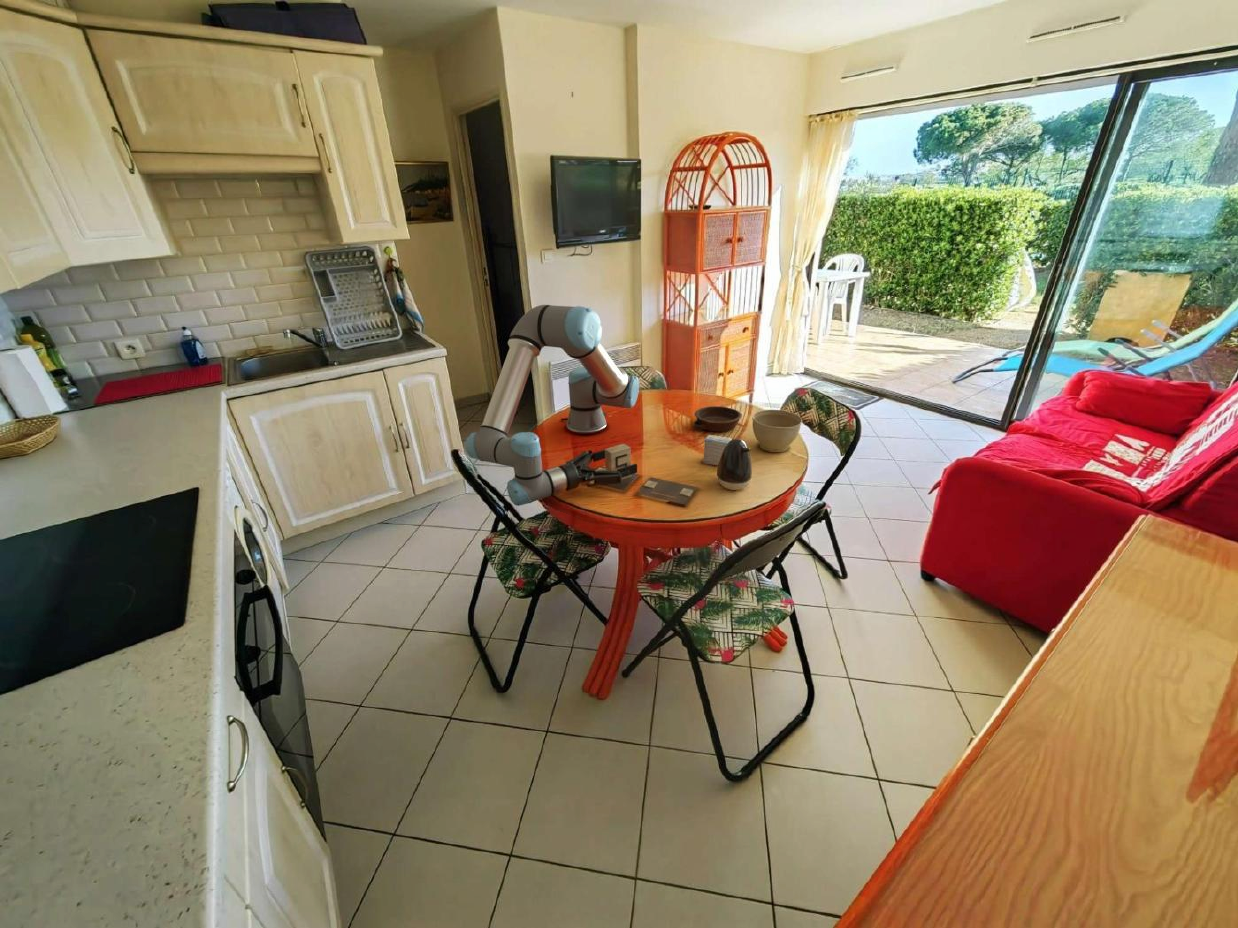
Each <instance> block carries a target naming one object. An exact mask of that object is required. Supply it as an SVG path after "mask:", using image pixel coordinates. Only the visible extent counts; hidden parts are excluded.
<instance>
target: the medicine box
mask: <svg viewBox="0 0 1238 928" xmlns="http://www.w3.org/2000/svg"><path fill="white" fill-rule="evenodd" d="M732 439H733V438H732V437H727V436H720V435H714V434H713V435H712V434H708V435H707V436H706V437H705V439H704V444H703V446H704V447H703V460H702V461H703V464H707V465H712V466H718V463H719V460H720V457H721V454H722V452H723V450H724V448H725V446H726V445H727V444H728V442H729V441H731V440H732Z"/></svg>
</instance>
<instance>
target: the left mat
mask: <svg viewBox="0 0 1238 928" xmlns="http://www.w3.org/2000/svg"><path fill="white" fill-rule="evenodd" d="M595 469H596V470H601V471H606V468H605V467H604V466H598V467H597V468H595ZM639 475H640V474H637V473H634V474H631V477H629V478H626V479H622V483H620V484H607V485H600V487H601V486H602V487H607V488H611V489H614V490H619V491H623V492H624V491H625V490H626V489H627V488H628V487H629V486H630V485H631V484H632V483H633V482H634V481H635V480H636V479H637V478H638V477H639Z"/></svg>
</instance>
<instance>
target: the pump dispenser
mask: <svg viewBox="0 0 1238 928" xmlns="http://www.w3.org/2000/svg"><path fill="white" fill-rule="evenodd" d="M731 439H732V440H731V441H729V442H728V444H727V445H726V446H725V448H724V450H723V452H722V454H721V457H720V460H719V463H718V465H717V468H716V477H717V479H718V483H719V484H720V485H721V486H722V487H723V488H725V489H727V490H732V491H738V490H742V489H744V488H745V487H746V486H747V485H749V483H750V481H751V480H752V477H753V466H752V459H751V453H750V451H751V448H750V447H748V446H747V444H746V442H745V441H744V440H743V439H741V438H731Z"/></svg>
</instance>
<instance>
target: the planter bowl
mask: <svg viewBox="0 0 1238 928" xmlns="http://www.w3.org/2000/svg"><path fill="white" fill-rule="evenodd" d="M751 417H752V418H751V419H752V431H753V434H754V436H755V439H756V441H757V442H758V444H759V448H760V449H762V450H764V451H766V452H770V453H782V452H783V453H784V452H785V451H787V450H788V448H789V447H790V446H791V444H792V443H793V442H794V441H795V440H796V439H797V437H798V435H799V433H800V430H801V425H802V424H803V418H802V417H801V416H800V415H798V414H796V413H793V412H792V411H787V410H782V409H764V410H758V411H756V412H755V413H753V414H752V416H751Z"/></svg>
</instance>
